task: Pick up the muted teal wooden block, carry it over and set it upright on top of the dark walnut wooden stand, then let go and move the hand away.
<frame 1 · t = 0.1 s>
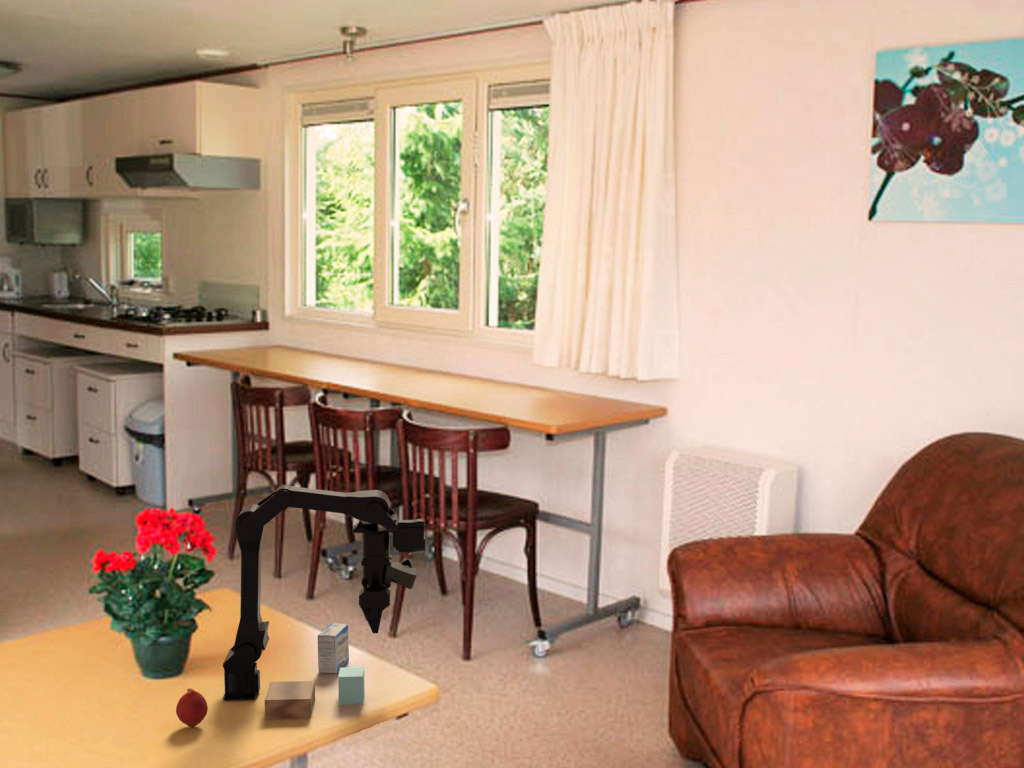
hand: (376, 625, 233), 14 cm above the table, fingers open, 9 cm apart
teal block: (351, 699, 231), on the table
medicine box: (333, 667, 248), on the table
walnut stand: (290, 709, 226), on the table
onion: (192, 728, 217), on the table
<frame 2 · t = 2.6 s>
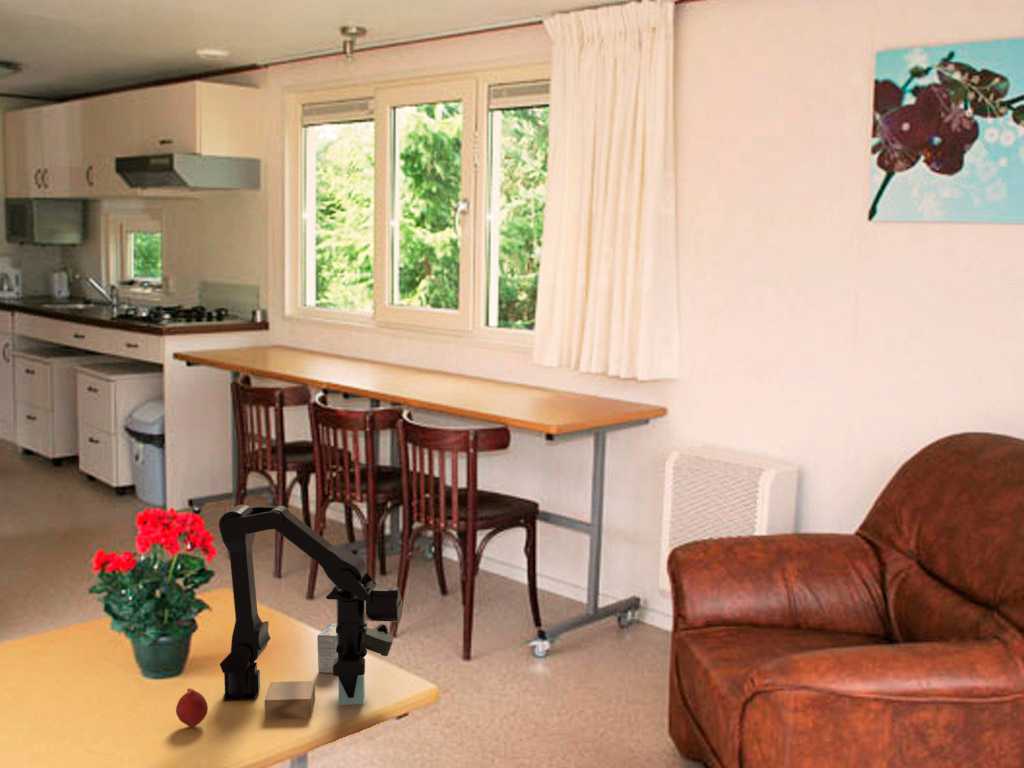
hand: (351, 692, 230), 2 cm above the table, fingers closed on teal block, 5 cm apart
teal block: (351, 699, 231), on the table, touching gripper
everything else where it was.
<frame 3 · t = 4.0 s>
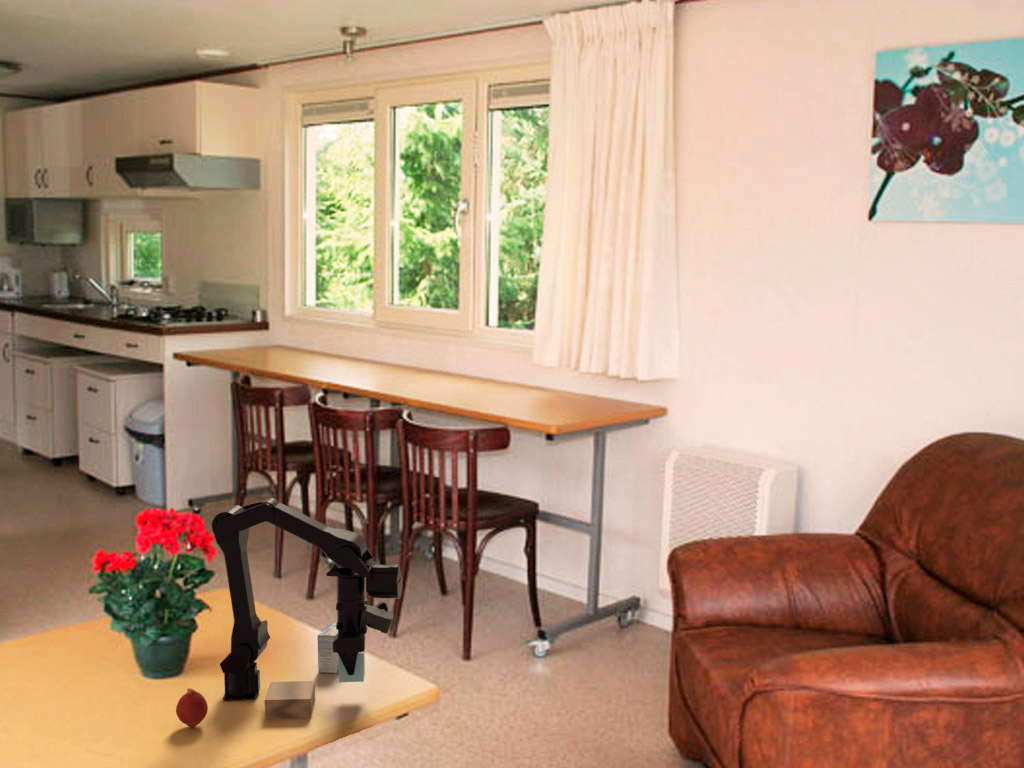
hand: (351, 669, 230), 6 cm above the table, fingers closed on teal block, 5 cm apart
teal block: (351, 677, 230), point 5 cm above the table, touching gripper
everything else where it was.
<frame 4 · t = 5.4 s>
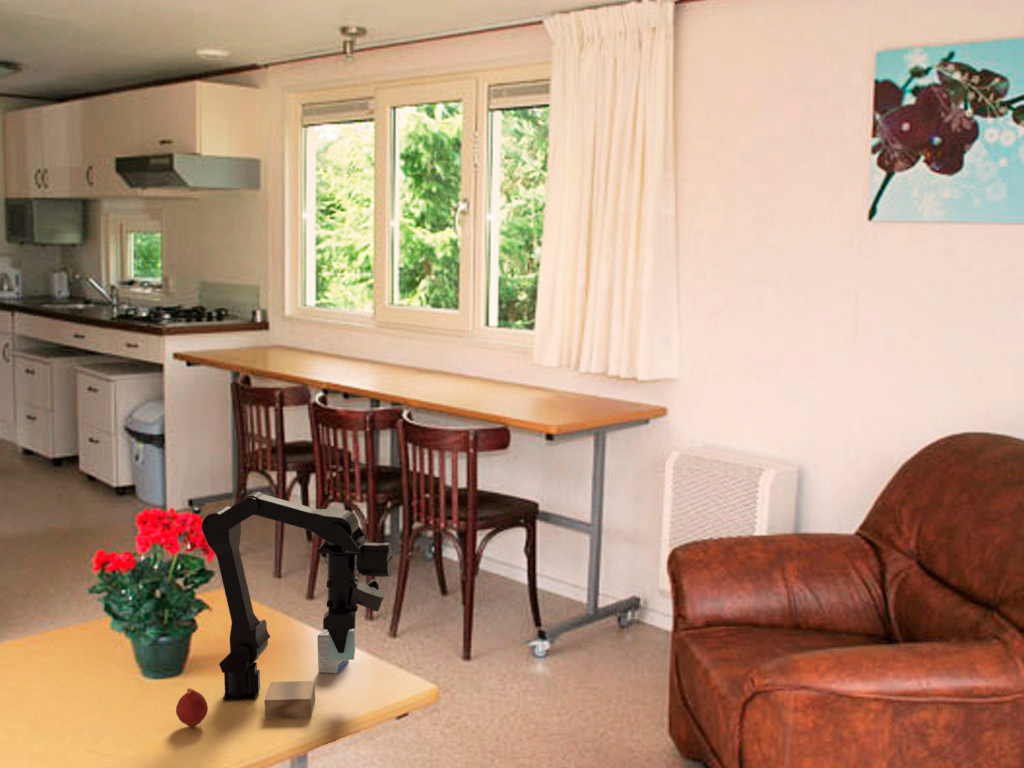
hand: (341, 648, 228), 11 cm above the table, fingers closed on teal block, 5 cm apart
teal block: (342, 655, 229), point 10 cm above the table, touching gripper
everything else where it was.
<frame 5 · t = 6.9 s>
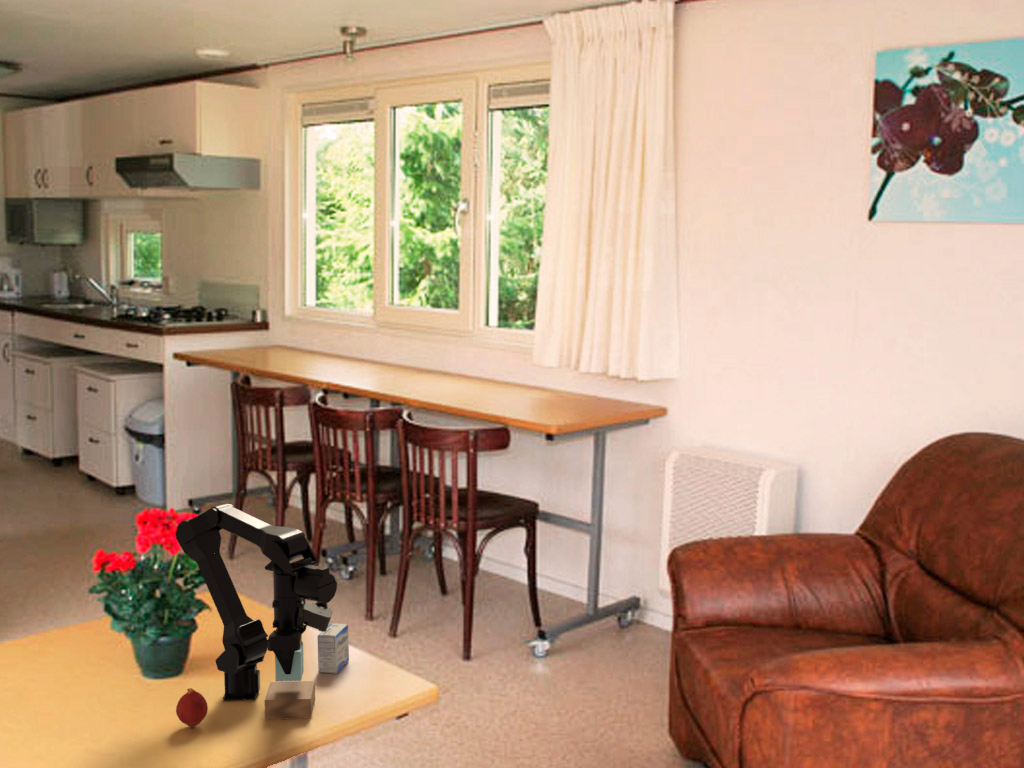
hand: (289, 668, 224), 8 cm above the table, fingers closed on teal block, 5 cm apart
teal block: (289, 676, 225), point 7 cm above the table, touching gripper
everything else where it was.
when the fingers open (6 cm above the table, at t = 8.1 s): teal block stays where it is, resting on walnut stand.
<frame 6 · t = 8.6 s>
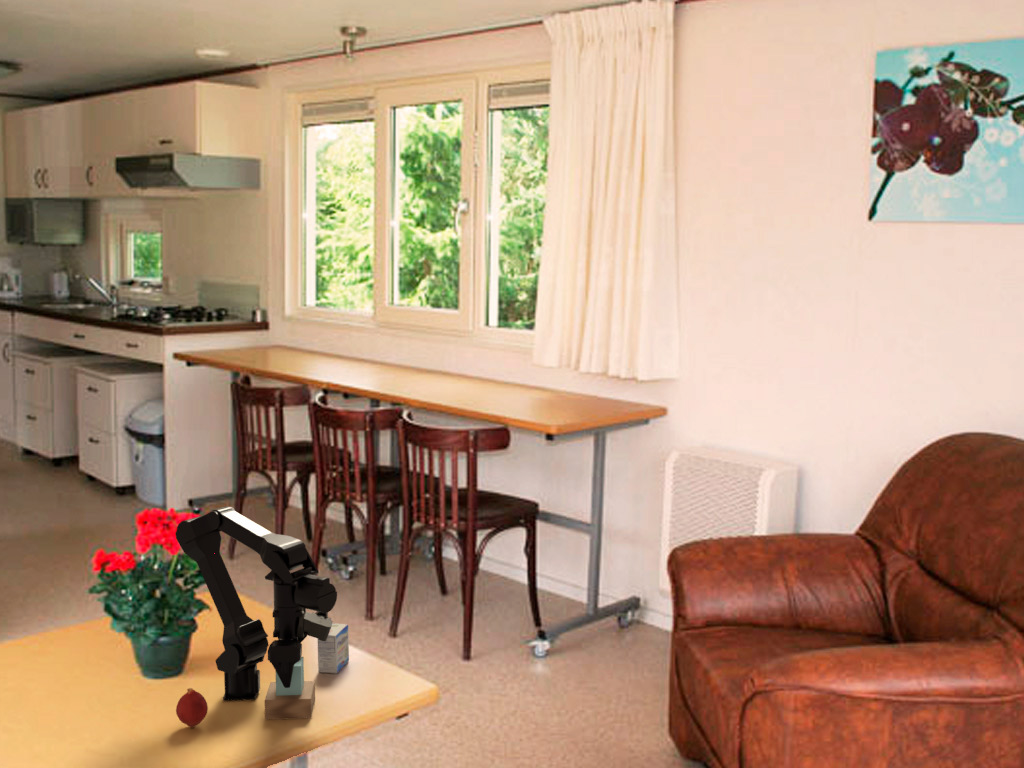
hand: (289, 678, 225), 6 cm above the table, fingers open, 9 cm apart
teal block: (290, 690, 225), point 4 cm above the table, touching walnut stand
everything else where it was.
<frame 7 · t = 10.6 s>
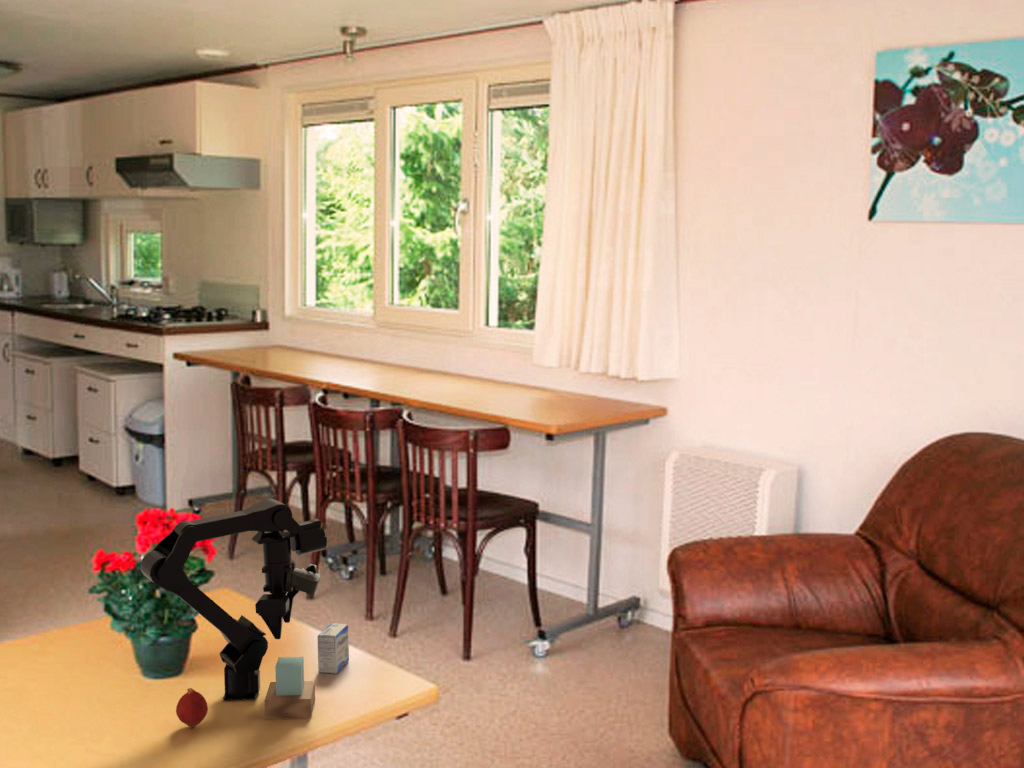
hand: (282, 630, 236), 12 cm above the table, fingers open, 9 cm apart
nothing on the table moved.
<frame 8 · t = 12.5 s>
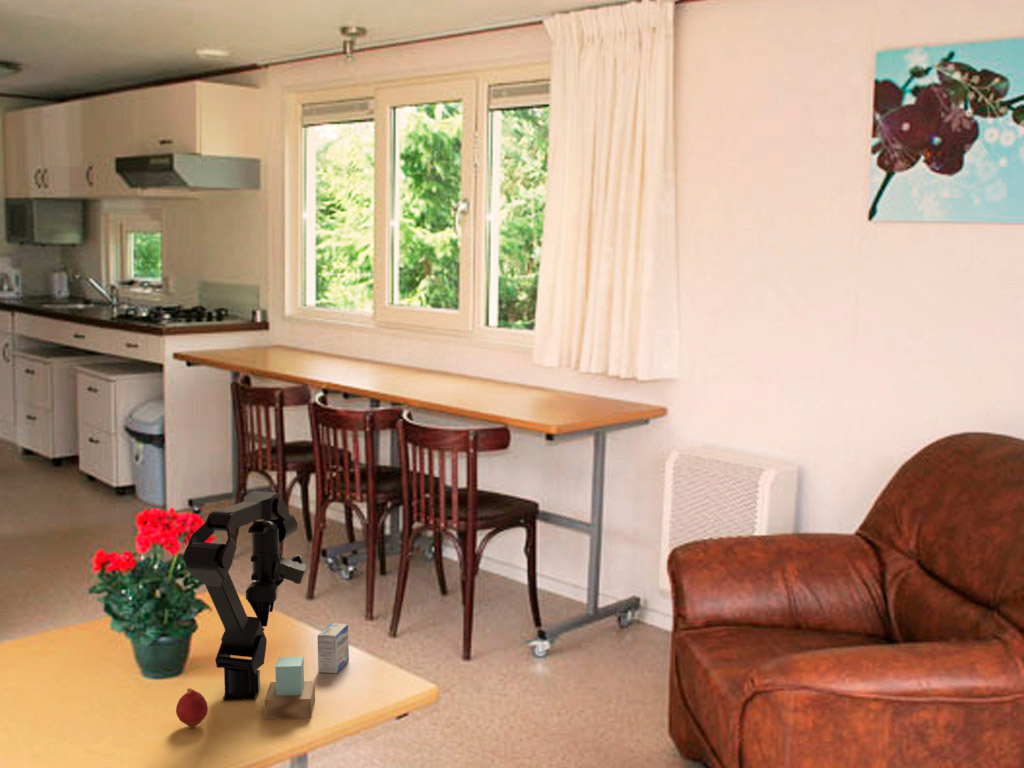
hand: (267, 618, 243), 12 cm above the table, fingers open, 9 cm apart
nothing on the table moved.
at the end: teal block touching walnut stand; teal block tilted 0° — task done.
